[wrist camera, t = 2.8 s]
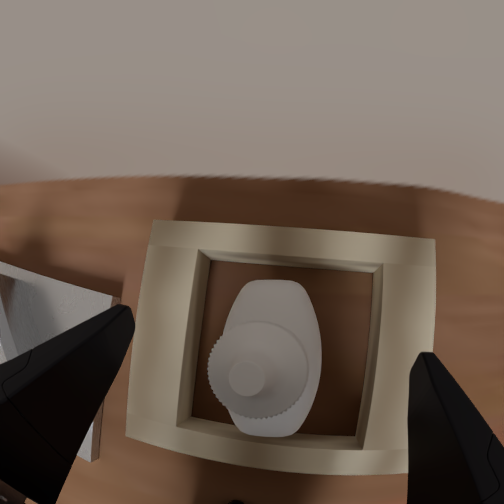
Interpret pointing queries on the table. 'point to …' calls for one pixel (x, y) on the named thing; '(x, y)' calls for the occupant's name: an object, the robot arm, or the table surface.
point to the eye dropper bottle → (268, 359)
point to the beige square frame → (282, 254)
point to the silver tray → (46, 322)
